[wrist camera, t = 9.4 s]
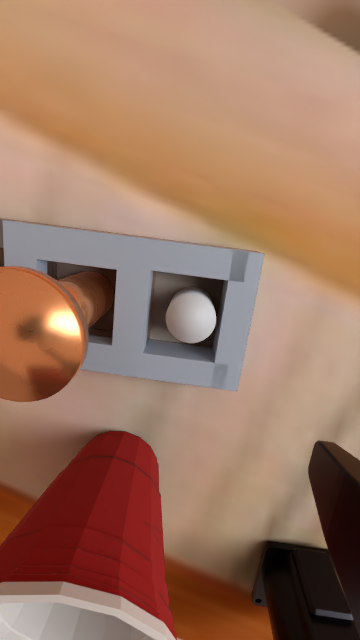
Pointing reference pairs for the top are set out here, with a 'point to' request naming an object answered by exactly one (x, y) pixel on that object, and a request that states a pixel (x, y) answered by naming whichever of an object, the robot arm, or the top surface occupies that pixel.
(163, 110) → the top surface
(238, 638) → the top surface
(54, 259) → the frame
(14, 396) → the pin
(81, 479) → the plastic cup
